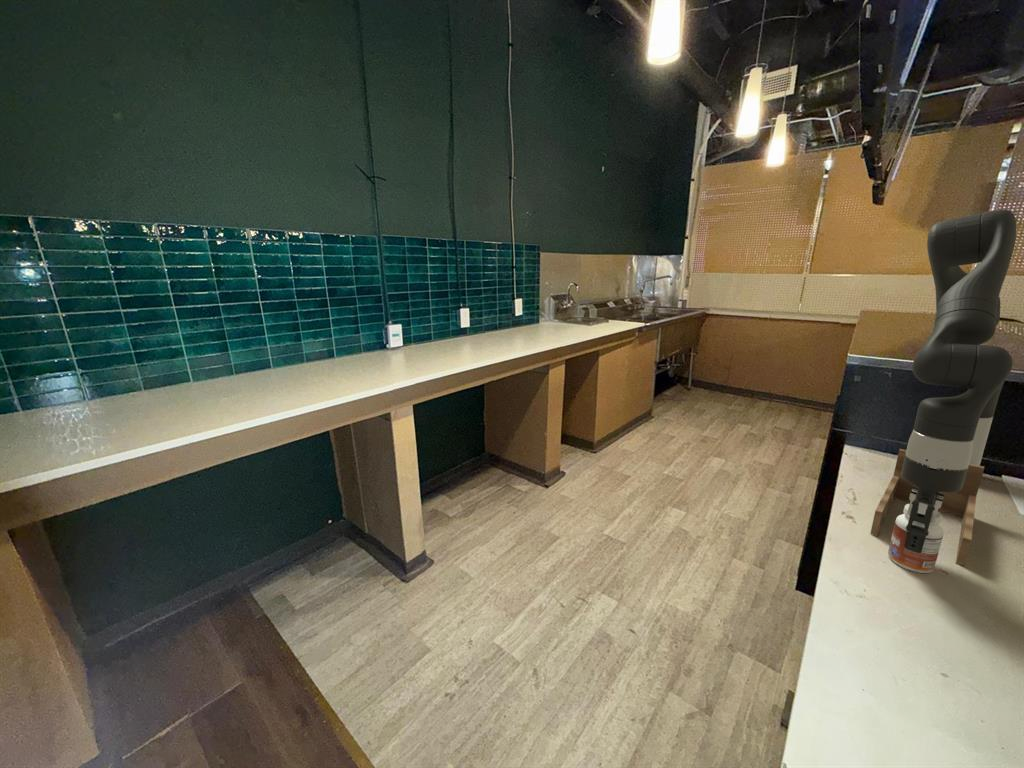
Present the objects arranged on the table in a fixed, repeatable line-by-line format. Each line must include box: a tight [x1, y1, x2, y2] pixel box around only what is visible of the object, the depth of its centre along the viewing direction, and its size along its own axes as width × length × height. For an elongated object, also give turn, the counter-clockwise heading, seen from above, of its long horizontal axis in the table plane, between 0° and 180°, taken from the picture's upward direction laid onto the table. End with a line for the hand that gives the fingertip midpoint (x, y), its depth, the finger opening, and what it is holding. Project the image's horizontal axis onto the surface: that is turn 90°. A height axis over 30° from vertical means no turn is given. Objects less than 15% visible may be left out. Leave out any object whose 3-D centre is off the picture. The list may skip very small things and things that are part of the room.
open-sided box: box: [870, 448, 985, 567], centre depth 83 cm, size 23×13×12 cm, turn 130°
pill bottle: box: [887, 503, 945, 574], centre depth 72 cm, size 6×6×11 cm
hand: (915, 540), depth 72 cm, fingers open, 7 cm apart
